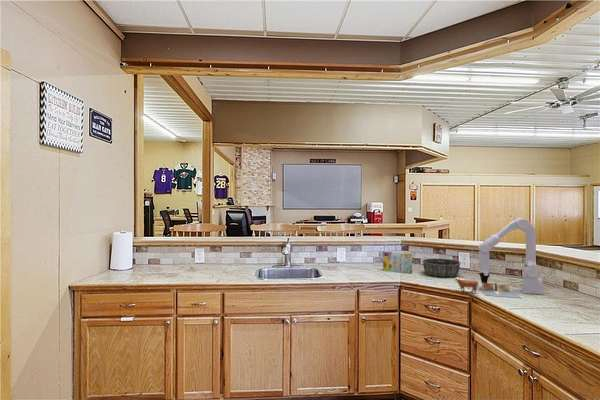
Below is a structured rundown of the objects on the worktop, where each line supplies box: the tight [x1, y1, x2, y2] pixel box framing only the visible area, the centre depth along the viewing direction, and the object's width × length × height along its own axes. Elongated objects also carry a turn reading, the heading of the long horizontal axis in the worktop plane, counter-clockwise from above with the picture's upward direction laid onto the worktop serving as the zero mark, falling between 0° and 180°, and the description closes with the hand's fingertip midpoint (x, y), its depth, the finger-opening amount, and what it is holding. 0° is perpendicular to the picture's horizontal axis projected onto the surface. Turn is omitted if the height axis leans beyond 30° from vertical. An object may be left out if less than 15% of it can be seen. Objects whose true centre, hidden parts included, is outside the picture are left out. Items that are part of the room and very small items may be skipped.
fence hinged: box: [481, 282, 495, 291], centre depth 217 cm, size 6×1×4 cm, turn 72°
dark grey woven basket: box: [421, 257, 462, 278], centre depth 265 cm, size 26×26×10 cm
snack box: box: [382, 250, 413, 274], centre depth 277 cm, size 21×6×15 cm, turn 58°
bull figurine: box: [453, 276, 479, 295], centre depth 216 cm, size 4×13×8 cm, turn 51°
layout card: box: [480, 288, 522, 299], centre depth 212 cm, size 18×16×1 cm
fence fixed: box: [494, 282, 510, 292], centre depth 215 cm, size 8×1×5 cm, turn 72°
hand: (484, 285), depth 222 cm, fingers closed
